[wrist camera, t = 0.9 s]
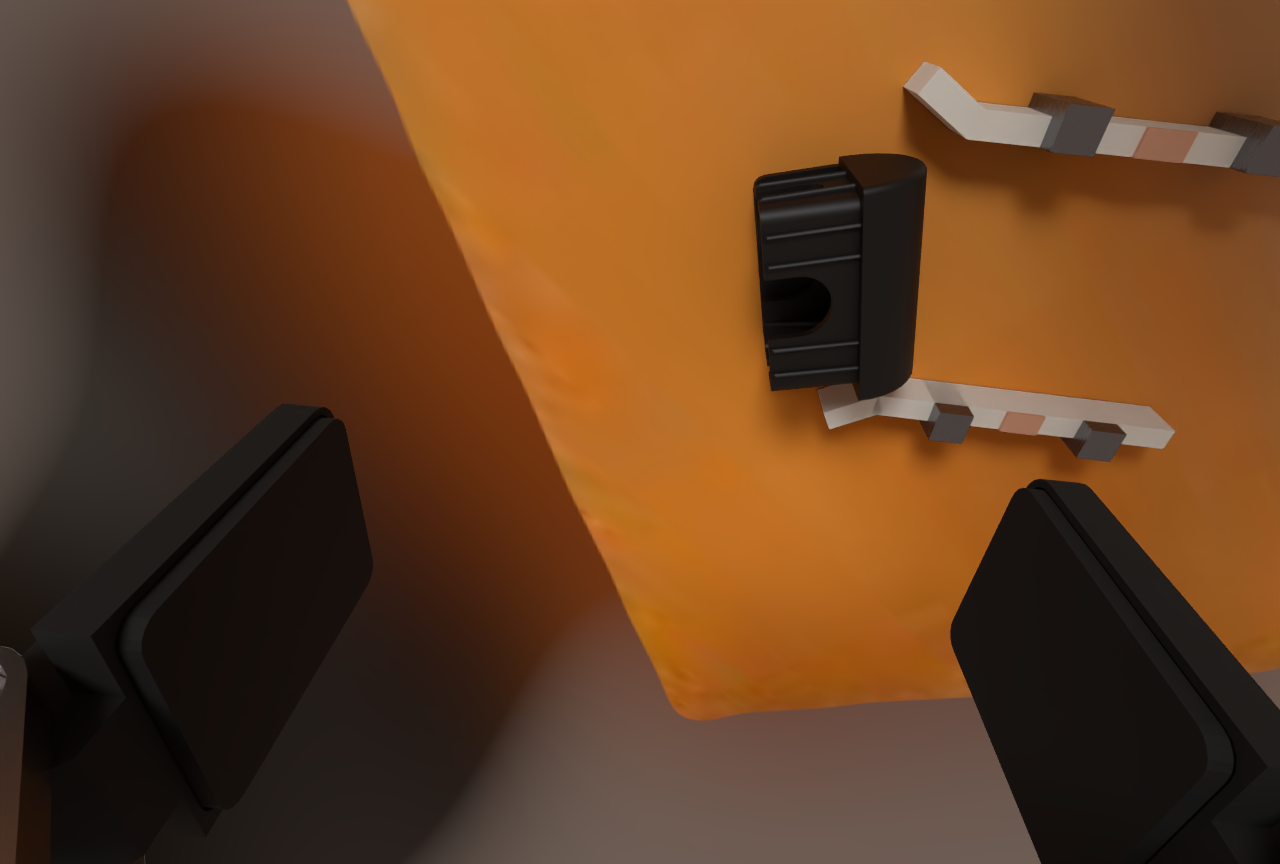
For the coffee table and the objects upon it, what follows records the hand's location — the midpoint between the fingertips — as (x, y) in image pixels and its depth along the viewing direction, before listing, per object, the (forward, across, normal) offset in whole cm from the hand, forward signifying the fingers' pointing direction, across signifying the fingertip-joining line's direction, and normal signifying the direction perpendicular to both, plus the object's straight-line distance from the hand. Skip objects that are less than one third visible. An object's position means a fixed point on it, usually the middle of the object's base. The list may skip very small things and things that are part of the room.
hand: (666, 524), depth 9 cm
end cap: (+27, -8, +4) cm, 28 cm away
